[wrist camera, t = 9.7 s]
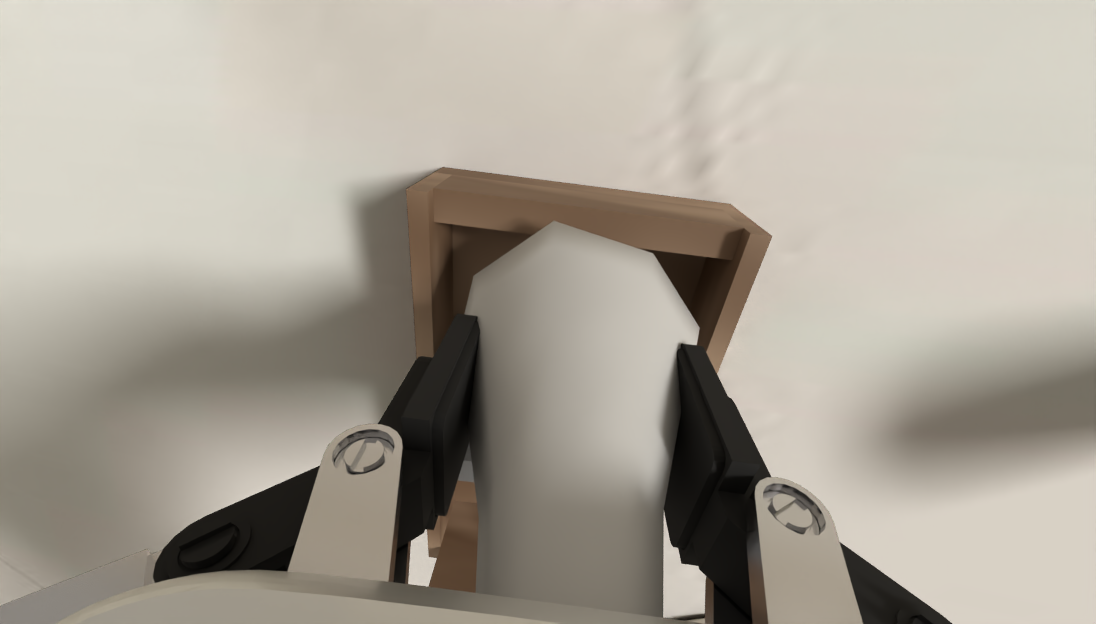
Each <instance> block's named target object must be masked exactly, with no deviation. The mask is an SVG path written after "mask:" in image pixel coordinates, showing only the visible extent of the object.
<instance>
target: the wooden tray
mask: <svg viewBox="0 0 1096 624" xmlns="http://www.w3.org/2000/svg"><path fill="white" fill-rule="evenodd" d="M406 196H407V212H408V228H409V244H410V260H411V276H412V293H413V309H414V325H415V341H416V357H417V358H418V357H420V356H425V357H434V355H435V353H436V351H437V349H438V347H439V345H440V344H441V342H442V340H443V338H444V336H445V334H446V332H447V331H448V329H449V327H450V325H451V323H452V321H453V319H454V318H455V316H456V314H464V313H465V309H466V305H467V301H468V297H469V292H470V288H471V284H472V280H473V276H474V275H475V274H477V273H478V272H480V271H481V270H483V269H484V268H485V267H487V266H488V265H490V264H491V263H493V262H494V261H496V260H497V259H499V258H500V257H502V256H503V255H504V254H506V253H507V252H509V251H510V250H512V249H513V248H515V247H516V246H518V245H519V244H521V243H522V242H524V241H525V240H526V239H528V238H529V237H531V236H532V235H534V234H535V233H537V232H538V231H540V230H541V229H543V228H544V227H545V226H547V225H548V224H550V223H551V222H553V221H556V222H559V223H562V224H565V225H568V226H571V227H574V228H577V229H580V230H583V231H586V232H589V233H592V234H595V235H598V236H602V237H605V238H608V239H611V240H614V241H617V242H620V243H623V244H626V245H629V246H632V247H635V248H638V249H641V250H644V251H647V252H650V253H653V254H654V255H655V257H656V259H657V260H658V262H659V263H660V265H661V267H662V268H663V270H664V271H665V273H666V275H667V276H668V278H669V279H670V281H671V283H672V284H673V286H674V288H675V289H676V291H677V292H678V294H679V296H680V297H681V299H682V300H683V302H684V304H685V305H686V307H687V308H688V310H689V312H690V313H691V315H692V316H693V318H694V320H695V321H696V323H697V324H698V326H699V328H700V329H699V335H698V340H697V345H698V346H703V347H704V349H705V351H706V353H707V355H708V357H709V359H710V361H711V363H712V365H713V367H714V369H715V371H716V373H717V372H718V370H719V367H720V365H721V363H722V360H723V358H724V355H725V353H726V350H727V348H728V345H729V343H730V340H731V338H732V335H733V333H734V330H735V328H736V325H737V323H738V320H739V318H740V315H741V313H742V310H743V308H744V305H745V303H746V300H747V298H748V295H749V293H750V290H751V288H752V285H753V283H754V280H755V278H756V275H757V273H758V271H759V268H760V266H761V263H762V261H763V258H764V256H765V253H766V251H767V248H768V246H769V243H770V241H771V238H772V236H771V235H770V234H769V233H767V232H766V231H765V230H763V229H762V228H761V227H760V226H758V225H757V224H756V223H754V222H753V221H752V220H750V219H749V218H748V217H747V216H745V215H744V214H743V213H741V212H740V211H739V210H737V209H736V208H735V207H733V206H732V205H731V204H726V203H718V202H710V201H702V200H695V199H687V198H679V197H671V196H663V195H656V194H648V193H640V192H632V191H625V190H617V189H609V188H601V187H593V186H586V185H578V184H570V183H562V182H554V181H547V180H539V179H531V178H523V177H515V176H508V175H500V174H492V173H484V172H476V171H469V170H461V169H453V168H445V167H442V168H441V169H439V170H437V171H436V172H434V173H432V174H431V175H429V176H427V177H426V178H424V179H422V180H421V181H419V182H417V183H416V184H414V185H412V186H411V187H409V188H407V189H406ZM478 524H479V516H478V508H477V499H476V491H475V483H474V482H467V481H459V480H458V481H457V484H456V487H455V490H454V494H453V497H452V500H451V503H450V507H449V510H448V513H447V515H446V516H438V519H437V522H436V525H435V528H434V530H428V529H427V535H428V551H429V557H434V558H437V560H436V563H435V567H434V570H433V573H432V577H431V580H430V584H429V587H433V588H441V589H449V590H457V591H465V592H472V593H476V571H477V548H478Z"/></svg>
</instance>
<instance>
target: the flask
mask: <svg viewBox="0 0 1096 624" xmlns="http://www.w3.org/2000/svg"><path fill="white" fill-rule="evenodd" d="M464 314H466V315H473V316H477V320H476V321H477V322H478V324H479V328H480V335H479V342H478V350H477V358H476V365H475V373H474V381H473V388H472V396H471V404H470V412H469V419H468V435H469V443H470V451H471V459H472V467H473V475H474V483H475V491H476V499H477V508H478V516H479V524H478V548H477V571H476V593H480V594H488V595H496V596H503V597H511V598H519V599H526V600H534V601H542V602H549V603H557V604H564V605H572V606H579V607H587V608H594V609H602V610H609V611H616V612H624V613H631V614H639V615H646V616H653V617H661V618H663V514H664V505H665V500H666V494H667V488H668V483H669V477H670V472H671V466H672V460H673V455H674V449H675V444H676V438H677V432H678V427H679V421H680V416H681V404H680V390H679V376H678V362H677V350H678V349H679V348H681V349H683V348H682V347H681V344H682V343H683V344H690V345H697V340H698V335H699V329H700V328H699V326H698V324H697V323H696V321H695V320H694V318H693V316H692V315H691V313H690V312H689V310H688V308H687V307H686V305H685V304H684V302H683V300H682V299H681V297H680V296H679V294H678V292H677V291H676V289H675V288H674V286H673V284H672V283H671V281H670V279H669V278H668V276H667V275H666V273H665V271H664V270H663V268H662V267H661V265H660V263H659V262H658V260H657V259H656V257H655V255H654V254H653V253H650V252H647V251H644V250H641V249H638V248H635V247H632V246H629V245H626V244H623V243H620V242H617V241H614V240H611V239H608V238H605V237H602V236H598V235H595V234H592V233H589V232H586V231H583V230H580V229H577V228H574V227H571V226H568V225H565V224H562V223H559V222H556V221H553V222H551V223H550V224H548V225H547V226H545V227H544V228H543V229H541V230H540V231H538V232H537V233H535V234H534V235H532V236H531V237H529V238H528V239H526V240H525V241H524V242H522V243H521V244H519V245H518V246H516V247H515V248H513V249H512V250H510V251H509V252H507V253H506V254H504V255H503V256H502V257H500V258H499V259H497V260H496V261H494V262H493V263H491V264H490V265H488V266H487V267H485V268H484V269H483V270H481V271H480V272H478V273H477V274H475V275H474V276H473V280H472V284H471V288H470V292H469V297H468V301H467V305H466V309H465V313H464Z"/></svg>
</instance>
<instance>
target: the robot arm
mask: <svg viewBox="0 0 1096 624" xmlns="http://www.w3.org/2000/svg"><path fill="white" fill-rule="evenodd" d="M476 320H477V316H473V315H466V314H456V316H455V318H454V319H453V321H452V323H451V325H450V327H449V329H448V331H447V332H446V334H445V336H444V338H443V340H442V342H441V344H440V345H439V347H438V349H437V351H436V353H435V355H434V357H425V356H420V357H418V358H417V360H416V361H415V363H414V364H413V366H412V368H411V369H410V371H409V373H408V374H407V376H406V378H405V379H404V381H403V383H402V384H401V386H400V388H399V389H398V391H397V393H396V395H395V396H394V398H393V400H392V401H391V403H390V405H389V406H388V408H387V410H386V411H385V413H384V415H383V416H382V418H381V420H380V421H379V423H378V424H366V425H360V426H356V427H354V428H351V429H349V430H346V431H345V432H343V433H342V434H340V435H338V436H337V437H336V438H335V439H334V440H333V441H332V442H331V443H330V444H329V445H328V447H327V449H326V451H325V453H324V455H323V458H322V461H321V464H320V466H318V467H316V468H314V469H311V470H309V471H307V472H304V473H302V474H300V475H298V476H295V477H293V478H291V479H289V480H286V481H284V482H282V483H280V484H277V485H275V486H273V487H271V488H268V489H266V490H264V491H261V492H259V493H257V494H255V495H252V496H250V497H248V498H246V499H243V500H241V501H239V502H237V503H234V504H232V505H230V506H228V507H225V508H223V509H221V510H218V511H216V512H214V513H212V514H209V515H207V516H205V517H203V518H201V519H199V520H198V521H196V522H194V523H192V524H190V525H189V526H187V527H186V528H185V529H184V530H182V531H181V532H180V533H178V534H177V535H176V536H175V537H174V538H173V539H172V540H171V541H170V542H169V543H168V544H167V546H166V547H165V548H164V549H163V550H161V551H158V552H156V553H153V554H151V553H150V551H149V550H148V549H145V550H143V551H140V552H138V553H135V554H133V555H130V556H127V557H125V558H122V559H120V560H117V561H114V562H112V563H109V564H107V565H104V566H102V567H99V568H96V569H94V570H91V571H89V572H86V573H83V574H81V575H78V576H76V577H73V578H71V579H68V580H65V581H63V582H60V583H58V584H55V585H52V586H50V587H47V588H45V589H42V590H40V591H37V592H34V593H32V594H29V595H27V596H24V597H21V598H19V599H16V600H14V601H11V602H9V603H6V604H3V605H1V606H0V624H952V623H951V622H950V621H948V620H947V619H946V618H945V617H943V616H942V615H941V614H940V613H938V612H937V611H935V610H934V609H933V608H931V607H930V606H928V605H927V604H926V603H924V602H923V601H921V600H920V599H919V598H917V597H916V596H914V595H913V594H912V593H910V592H909V591H907V590H906V589H905V588H903V587H902V586H900V585H899V584H898V583H896V582H895V581H893V580H892V579H891V578H889V577H888V576H886V575H885V574H884V573H882V572H881V571H879V570H878V569H877V568H875V567H874V566H873V565H871V564H870V563H868V562H867V561H866V560H864V559H863V558H861V557H860V556H859V555H857V554H856V553H854V552H853V551H852V550H850V549H849V548H847V547H846V546H845V545H843V544H842V543H840V542H839V538H838V535H837V532H836V528H835V525H834V522H833V519H832V517H831V515H830V513H829V511H828V510H827V509H826V507H825V506H824V505H823V503H822V502H821V501H820V500H819V499H818V498H817V497H815V496H814V495H813V494H812V493H811V492H809V491H808V490H806V489H805V488H803V487H802V486H800V485H798V484H796V483H794V482H792V481H789V480H787V479H782V478H778V477H771V475H770V473H769V471H768V469H767V467H766V465H765V463H764V461H763V459H762V457H761V455H760V453H759V451H758V449H757V447H756V445H755V443H754V441H753V439H752V437H751V435H750V433H749V431H748V429H747V427H746V425H745V423H744V421H743V419H742V417H741V415H740V413H739V411H738V409H737V407H736V405H735V403H734V402H733V400H732V399H731V398H729V397H728V396H727V394H726V392H725V390H724V388H723V386H722V384H721V382H720V380H719V377H718V375H717V373H716V371H715V369H714V367H713V365H712V363H711V361H710V359H709V357H708V355H707V353H706V351H705V349H704V347H703V346H698V345H690V344H683V343H682V344H681V347H682V348H683V349H681V348H679V349H678V350H677V362H678V376H679V390H680V404H681V416H680V421H679V427H678V432H677V438H676V444H675V449H674V455H673V460H672V466H671V472H670V477H669V483H668V488H667V494H666V500H665V505H664V512H665V517H666V522H667V527H668V532H669V537H670V541H671V544H672V546H673V547H677V548H678V549H679V554H680V558H681V563H682V564H689V565H697V566H699V569H700V570H701V571H702V572H703V573H704V574H705V575H706V590H705V618H701V619H693V620H686V621H683V620H676V619H668V618H661V617H653V616H646V615H639V614H631V613H624V612H616V611H609V610H602V609H594V608H587V607H579V606H572V605H564V604H557V603H549V602H542V601H534V600H526V599H519V598H511V597H503V596H496V595H488V594H480V593H472V592H465V591H457V590H449V589H441V588H433V587H426V586H418V585H410V584H408V575H409V560H410V546H411V540H413V539H415V538H416V537H418V536H419V535H421V534H422V533H424V531H425V529H428V530H434V528H435V525H436V522H437V519H438V516H446V515H447V513H448V510H449V507H450V503H451V500H452V497H453V494H454V490H455V487H456V484H457V481H458V477H459V474H460V471H461V468H462V464H463V461H464V458H465V455H466V451H467V448H468V445H469V435H468V419H469V412H470V404H471V396H472V388H473V381H474V373H475V365H476V358H477V350H478V342H479V335H480V328H479V324H478V322H477V321H476Z"/></svg>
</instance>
